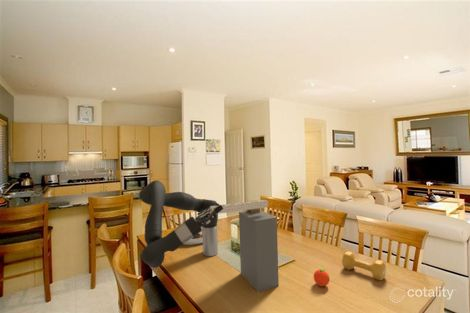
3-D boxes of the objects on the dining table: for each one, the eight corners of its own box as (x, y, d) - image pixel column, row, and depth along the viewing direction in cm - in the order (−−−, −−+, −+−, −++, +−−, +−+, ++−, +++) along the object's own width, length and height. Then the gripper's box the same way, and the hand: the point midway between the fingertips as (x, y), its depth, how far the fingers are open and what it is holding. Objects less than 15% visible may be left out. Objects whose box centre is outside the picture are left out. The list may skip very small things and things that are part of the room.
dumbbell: (387, 277, 117) (387, 260, 117) (381, 284, 111) (380, 266, 111) (348, 263, 131) (348, 249, 131) (340, 269, 125) (340, 254, 125)
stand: (240, 273, 124) (238, 211, 123) (259, 268, 128) (257, 209, 128) (257, 292, 107) (255, 220, 107) (278, 285, 112) (276, 217, 111)
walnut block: (246, 211, 124) (246, 201, 124) (255, 210, 126) (255, 200, 126) (251, 213, 119) (250, 203, 119) (260, 212, 121) (259, 202, 121)
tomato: (317, 278, 117) (317, 264, 117) (332, 283, 113) (332, 268, 113) (311, 286, 111) (311, 270, 111) (326, 291, 107) (326, 275, 106)
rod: (210, 212, 107) (209, 206, 107) (264, 205, 118) (264, 199, 118) (212, 214, 104) (212, 207, 104) (268, 207, 116) (267, 200, 116)
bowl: (169, 236, 184) (169, 225, 184) (206, 229, 197) (206, 220, 197) (177, 250, 157) (176, 238, 157) (220, 241, 170) (219, 230, 170)
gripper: (186, 227, 95) (222, 201, 100) (180, 218, 107) (211, 196, 113) (196, 242, 96) (230, 216, 102) (188, 232, 109) (219, 209, 115)
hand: (220, 205), depth 108 cm, fingers closed on rod, 3 cm apart
